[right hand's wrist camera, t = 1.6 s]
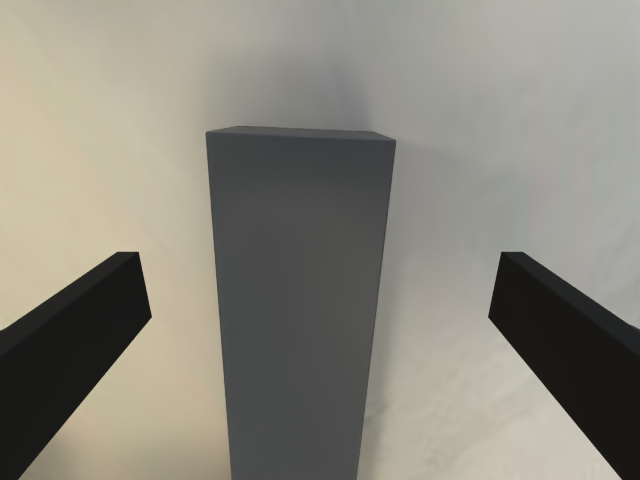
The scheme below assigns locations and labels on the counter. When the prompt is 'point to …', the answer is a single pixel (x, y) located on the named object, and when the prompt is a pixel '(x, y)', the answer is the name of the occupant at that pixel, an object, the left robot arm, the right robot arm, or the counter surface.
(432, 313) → the counter surface
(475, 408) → the counter surface
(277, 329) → the wide beam
